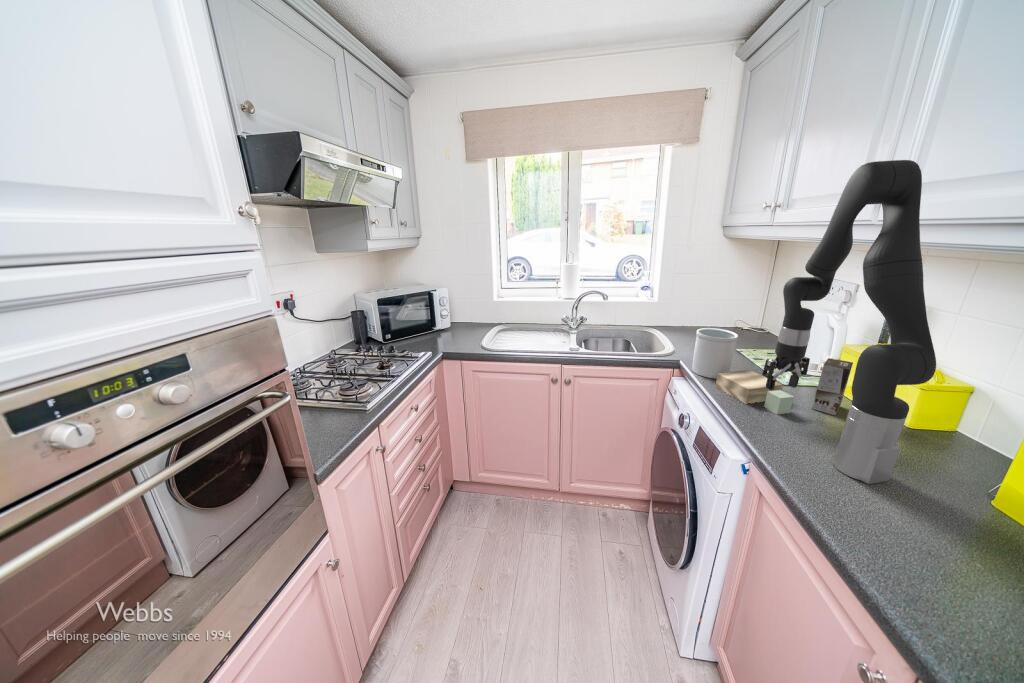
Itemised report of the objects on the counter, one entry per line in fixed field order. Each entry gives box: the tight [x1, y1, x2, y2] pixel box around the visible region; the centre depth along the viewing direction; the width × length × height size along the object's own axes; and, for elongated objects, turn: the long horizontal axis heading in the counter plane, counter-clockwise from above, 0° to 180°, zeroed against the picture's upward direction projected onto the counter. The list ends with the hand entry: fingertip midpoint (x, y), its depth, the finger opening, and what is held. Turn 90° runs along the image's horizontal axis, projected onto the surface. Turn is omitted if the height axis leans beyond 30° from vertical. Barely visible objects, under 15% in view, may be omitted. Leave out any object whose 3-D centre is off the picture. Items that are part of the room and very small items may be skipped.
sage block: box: [763, 389, 795, 415], centre depth 116 cm, size 5×5×6 cm
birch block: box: [714, 369, 783, 405], centre depth 128 cm, size 14×14×6 cm
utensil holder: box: [691, 327, 739, 379], centre depth 145 cm, size 15×15×18 cm
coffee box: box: [811, 357, 854, 416], centre depth 115 cm, size 9×6×16 cm
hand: (781, 387), depth 115 cm, fingers open, 8 cm apart
